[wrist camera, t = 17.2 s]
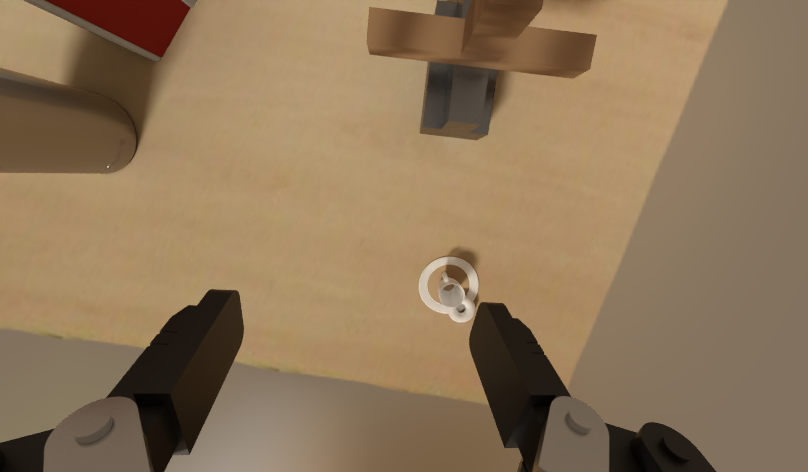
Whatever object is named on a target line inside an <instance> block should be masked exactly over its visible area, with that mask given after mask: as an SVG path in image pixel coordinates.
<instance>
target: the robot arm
mask: <svg viewBox="0 0 808 472" xmlns="http://www.w3.org/2000/svg"><path fill="white" fill-rule="evenodd" d="M135 148H136V133H135V129H134V125H133V123H132V121H131V119H130V117H129V116H128V114H127V113H126V112H125V110H124V109H123V108H122V107H121V106H120V105H119V104H117V103H116V102H114V101H113V100H111V99H109V98H107V97H105V96H102V95H99V94H95V93H91V92H88V91H84V90H80V89H77V88H73V87H69V86H66V85H62V84H59V83H55V82H51V81H48V80H44V79H40V78H37V77H33V76H29V75H25V74H22V73H18V72H14V71H11V70H7V69H3V68H0V173H101V174H108V173H113V172H116V171H118V170H120V169H122V168H123V167H125V166H126V165H127V164H128V163H129V162H130V160H131V159H132V157H133V155H134V152H135ZM243 333H244V325H243V318H242V310H241V303H240V296H239V292H238V291H236V290H215V289H211V290H209V291H208V292H207V293H206V294H205V296H204V297H203V298H202V300H201V301H200V303H199V304H198V305H197V306H193V305H188V306H187V307H185V308H184V309H182V310H181V311H179V312H178V313H177V314H175V315H174V316H172V317H171V318H170V319H169V321H168V322H167V323H166V324H165V326H164V327H163V328H162V329H161V331H160V334H157V335H156V337H155V338H154V339H153V340H152V342H151V343H150V346H148V347H147V348H146V349H145V351H144V352H143V353H142V354H141V355H140V357H139V358H138V359H137V360H136V362H135V363H134V364H133V365H132V367H131V368H130V369H129V370H128V371H127V373H126V374H125V375H124V376H123V378H122V379H121V381H119V383H118V384H117V385H116V386H115V388H114V389H113V390H112V391H111V393H110V394H109V395H108V396H107V397H106V398H104V399H100V400H97V401H95V402H92V403H90V404H88V405H85V406H84V407H82V408H80V409H78V410H77V411H75V412H74V413H72V414H71V415H69V416H68V417H67V418H65V419H64V420H63V421H62V422H61V423H60V424H59V425H58V426H57V427H56V428H55V429H51V430H48V431H44V432H41V433H37V434H33V435H29V436H25V437H21V438H18V439H14V440H10V441H6V442H2V443H0V472H164V471H165V469H166V467H167V465H168V463H169V461H170V459H171V457H172V455H189V454H190V453H191V450H192V448H193V446H194V444H195V442H196V440H197V438H198V435H199V433H200V431H201V429H202V427H203V425H204V423H205V420H206V419H207V416H208V414H209V412H210V410H211V408H212V406H213V404H214V402H215V399H216V397H217V395H218V393H219V391H220V389H221V387H222V384H223V382H224V380H225V378H226V376H227V374H228V371H229V369H230V367H231V365H232V363H233V361H234V359H235V357H236V355H237V353H238V350H239V348H240V346H241V343H242V339H243ZM469 345H470V351H471V355H472V357H473V360H474V363H475V366H476V369H477V371H478V374H479V377H480V380H481V383H482V386H483V388H484V391H485V394H486V397H487V400H488V402H489V405H490V408H491V411H492V414H493V416H494V419H495V422H496V425H497V428H498V431H499V433H500V436H501V439H502V442H503V445H504V447H505V448H519V450H520V453H521V455H522V458H521V461H520V463H519V466H518V470H517V472H716V471H715V470H714V468H713V467H712V466H711V465H710V463H709V462H708V461H707V460H706V459H705V457H704V456H703V455H702V454H701V452H700V451H699V450H698V449H697V448H696V447H695V446H694V445H693V444H692V443H691V442H690V441H689V440H688V439H687V438H685V437H684V436H683V435H681V434H680V433H679V432H677V431H675V430H674V429H672V428H670V427H668V426H665V425H663V424H659V423H654V422H650V423H646V424H645V425H643V427H642V428H641V429H640V430H639V432H638V433H636V432H633V431H629V430H626V429H623V428H620V427H616V426H613V425H610V424H606V423H604V421H603V420H602V418H601V417H600V416H599V415H598V414H597V413H596V412H595V411H594V410H593V409H592V408H591V407H590V406H588V405H587V404H586V403H584V402H582V401H580V400H578V399H576V398H572V397H571V396H570V394H569V392H568V391H567V389H566V387H565V386H564V384H563V383H562V381H561V379H560V378H559V376H558V374H557V373H556V371H555V369H554V368H553V366H552V365H551V363H550V361H549V360H548V358H547V356H546V355H544V352H543V350H542V348H541V347H540V345H538V342H537V340H536V339H535V337H534V335H533V334H532V332H531V330H530V329H529V328H528V327H527V326H526V325H524V324H523V323H522V322H521V321H520V320H519V319H517V318H512V316H511V315H510V313H509V311H508V309H507V308H506V306H505V305H504V304H503V303H489V302H481V303H480V305H479V307H478V310H477V313H476V316H475V320H474V323H473V326H472V329H471V333H470V338H469Z"/></svg>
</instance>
